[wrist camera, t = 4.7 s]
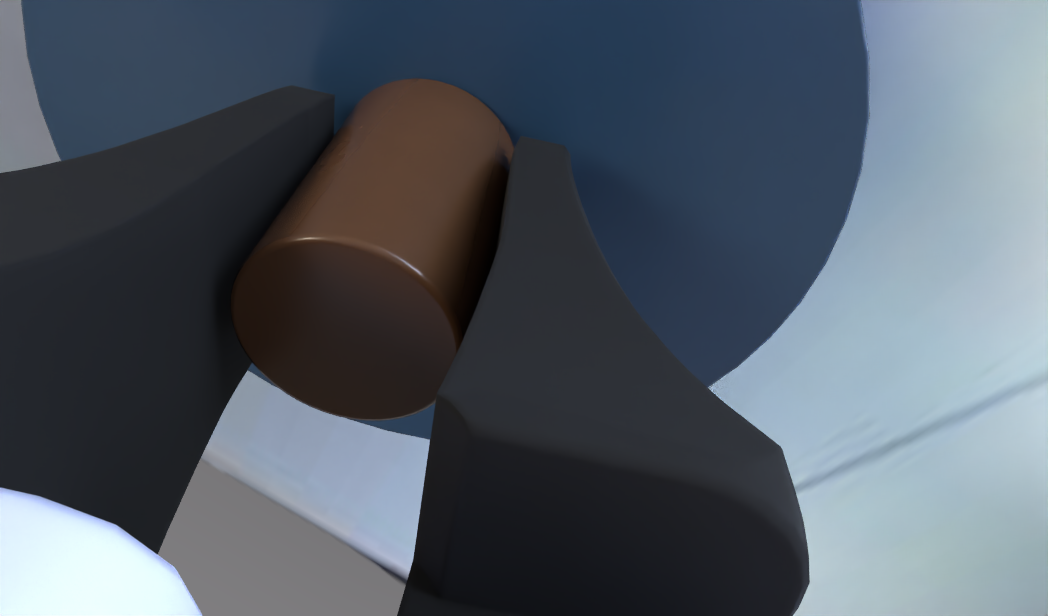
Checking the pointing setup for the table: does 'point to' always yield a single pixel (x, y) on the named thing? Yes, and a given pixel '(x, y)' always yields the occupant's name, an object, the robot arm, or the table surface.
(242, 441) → the table surface
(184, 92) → the lid
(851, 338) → the table surface
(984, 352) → the table surface
